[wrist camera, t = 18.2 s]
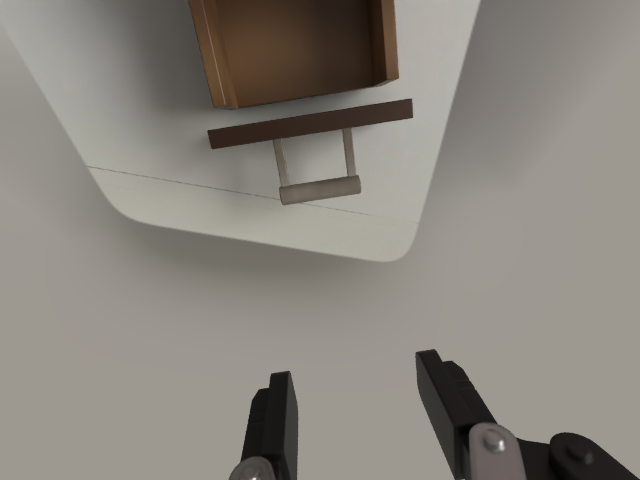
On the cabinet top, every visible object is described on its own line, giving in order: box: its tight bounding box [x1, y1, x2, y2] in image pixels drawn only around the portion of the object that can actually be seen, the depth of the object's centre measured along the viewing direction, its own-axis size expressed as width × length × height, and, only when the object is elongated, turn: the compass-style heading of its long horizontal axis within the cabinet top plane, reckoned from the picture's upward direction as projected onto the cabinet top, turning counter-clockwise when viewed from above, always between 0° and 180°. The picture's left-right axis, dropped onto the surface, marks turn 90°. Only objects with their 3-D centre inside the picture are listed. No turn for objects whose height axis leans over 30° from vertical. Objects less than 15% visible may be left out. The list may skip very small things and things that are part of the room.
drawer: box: [189, 0, 413, 205], centre depth 24 cm, size 19×13×6 cm
